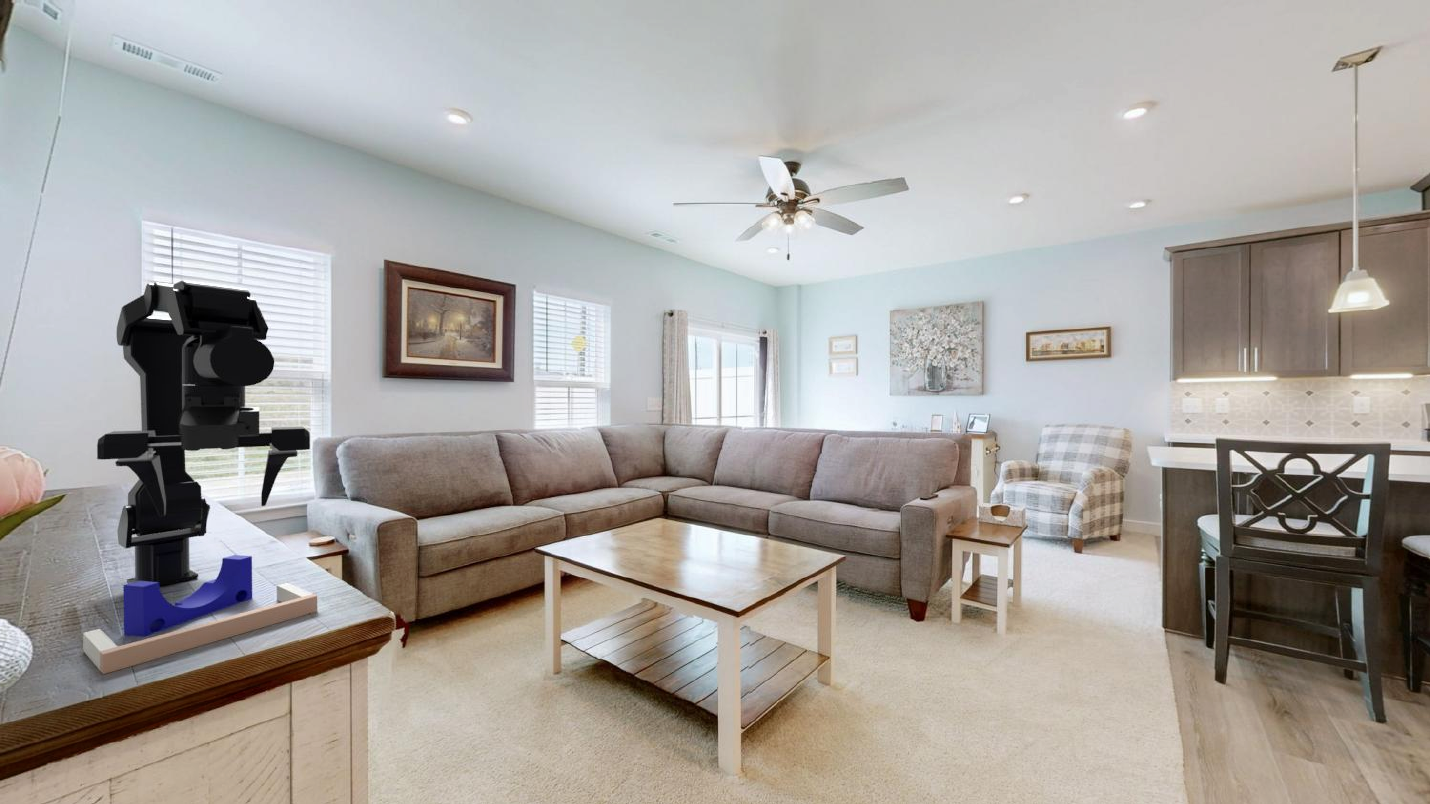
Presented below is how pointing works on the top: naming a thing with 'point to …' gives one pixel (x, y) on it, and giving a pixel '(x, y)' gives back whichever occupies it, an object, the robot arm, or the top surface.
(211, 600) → the blue half clamp
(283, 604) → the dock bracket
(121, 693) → the top surface
